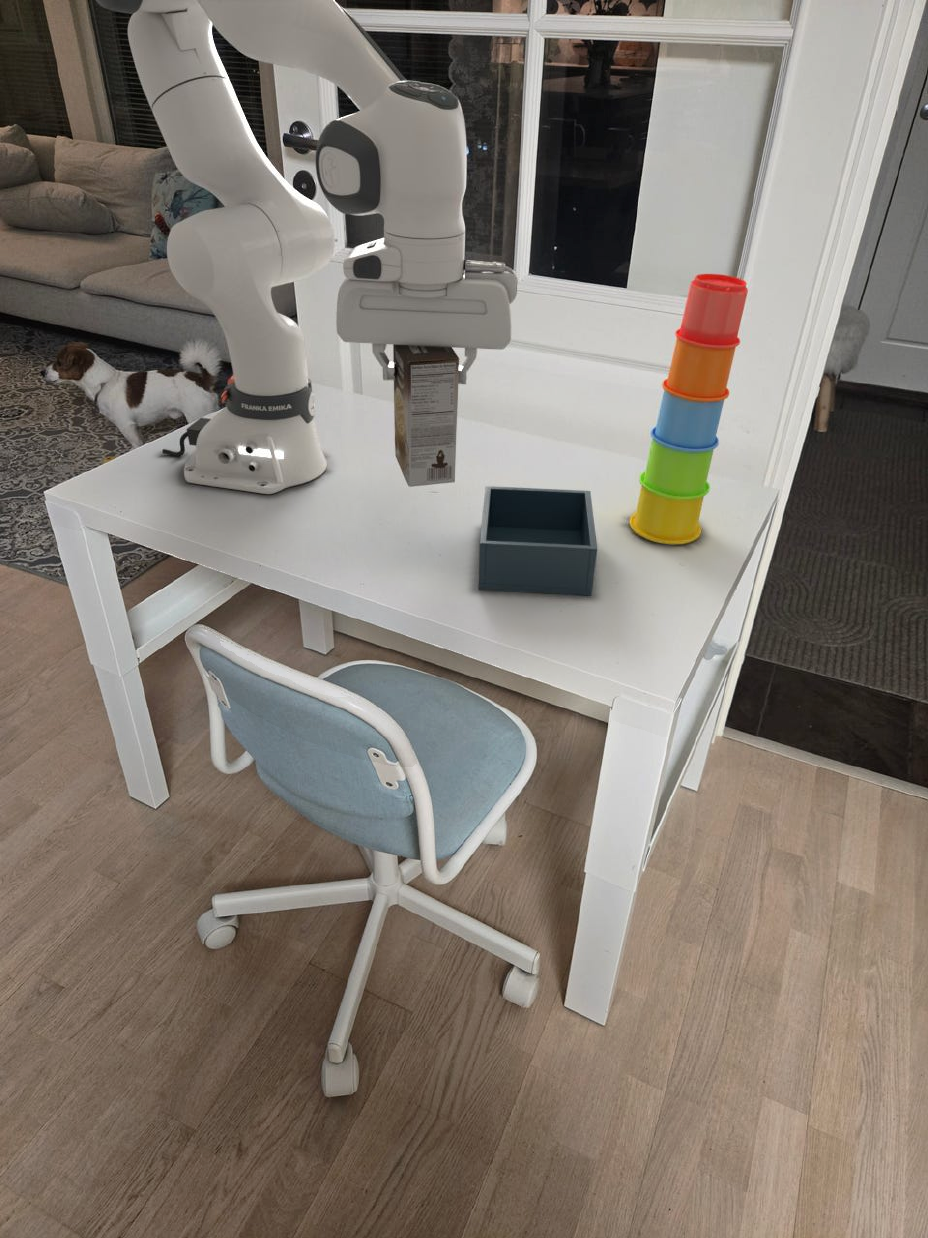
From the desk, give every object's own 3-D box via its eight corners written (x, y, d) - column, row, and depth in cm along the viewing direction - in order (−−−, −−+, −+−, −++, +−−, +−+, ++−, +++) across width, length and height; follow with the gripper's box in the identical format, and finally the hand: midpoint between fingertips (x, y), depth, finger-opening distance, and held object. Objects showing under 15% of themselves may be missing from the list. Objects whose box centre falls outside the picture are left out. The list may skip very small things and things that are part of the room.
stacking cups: (628, 508, 124) (666, 266, 104) (697, 515, 123) (749, 271, 102) (629, 543, 116) (670, 288, 95) (703, 550, 115) (760, 293, 94)
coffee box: (393, 456, 108) (390, 334, 99) (439, 452, 110) (442, 331, 100) (407, 488, 101) (406, 360, 92) (457, 483, 103) (461, 356, 93)
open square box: (478, 589, 106) (479, 543, 102) (484, 529, 118) (485, 485, 114) (591, 595, 105) (597, 549, 101) (585, 534, 118) (590, 490, 114)
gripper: (519, 255, 92) (511, 375, 101) (339, 247, 93) (346, 367, 101) (518, 269, 87) (510, 394, 96) (328, 261, 88) (337, 386, 96)
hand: (424, 380), depth 99 cm, fingers closed on coffee box, 7 cm apart
